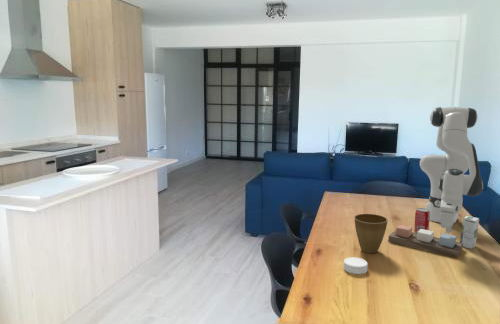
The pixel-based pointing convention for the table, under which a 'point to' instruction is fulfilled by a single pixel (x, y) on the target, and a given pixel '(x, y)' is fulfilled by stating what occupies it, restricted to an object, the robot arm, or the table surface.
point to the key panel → (426, 244)
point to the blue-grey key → (447, 240)
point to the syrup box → (469, 231)
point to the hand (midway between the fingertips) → (448, 232)
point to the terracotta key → (404, 231)
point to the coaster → (355, 265)
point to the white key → (425, 235)
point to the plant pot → (370, 231)
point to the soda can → (421, 219)
